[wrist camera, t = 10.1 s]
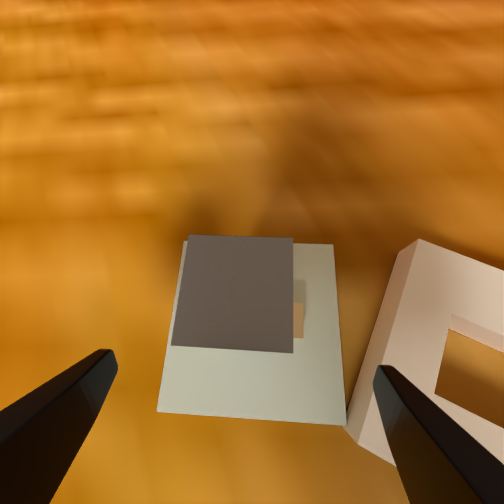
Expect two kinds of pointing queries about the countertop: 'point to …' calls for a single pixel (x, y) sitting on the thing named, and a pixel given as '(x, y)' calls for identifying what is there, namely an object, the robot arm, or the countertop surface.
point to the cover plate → (429, 336)
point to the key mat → (268, 360)
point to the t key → (238, 295)
